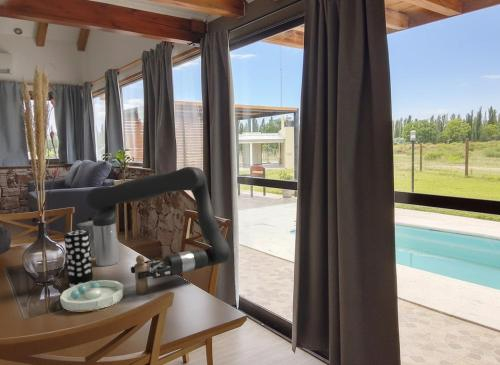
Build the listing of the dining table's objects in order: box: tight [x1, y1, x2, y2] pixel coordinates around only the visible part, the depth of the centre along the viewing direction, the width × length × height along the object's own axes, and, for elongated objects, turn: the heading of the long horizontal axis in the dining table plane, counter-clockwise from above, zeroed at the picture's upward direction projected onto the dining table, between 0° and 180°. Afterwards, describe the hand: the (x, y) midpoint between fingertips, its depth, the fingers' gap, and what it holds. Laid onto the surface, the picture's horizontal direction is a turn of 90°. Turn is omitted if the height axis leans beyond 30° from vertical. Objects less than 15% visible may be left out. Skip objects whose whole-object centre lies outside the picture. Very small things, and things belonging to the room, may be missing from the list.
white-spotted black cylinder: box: [63, 229, 94, 289], centre depth 144 cm, size 8×8×20 cm
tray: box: [59, 279, 124, 311], centre depth 131 cm, size 19×19×4 cm
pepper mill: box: [133, 254, 149, 296], centre depth 136 cm, size 4×4×13 cm
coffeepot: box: [76, 216, 96, 259], centre depth 182 cm, size 15×9×18 cm, turn 87°
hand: (134, 273), depth 134 cm, fingers open, 6 cm apart
